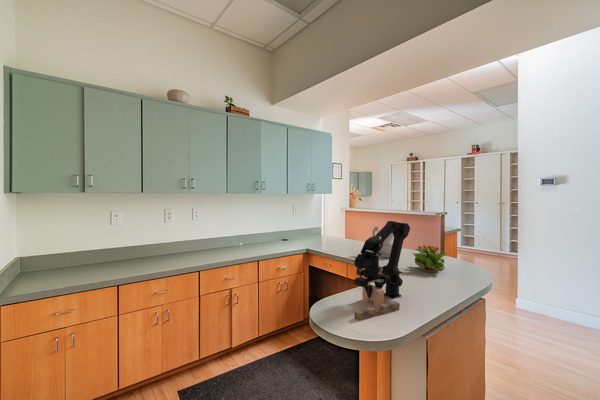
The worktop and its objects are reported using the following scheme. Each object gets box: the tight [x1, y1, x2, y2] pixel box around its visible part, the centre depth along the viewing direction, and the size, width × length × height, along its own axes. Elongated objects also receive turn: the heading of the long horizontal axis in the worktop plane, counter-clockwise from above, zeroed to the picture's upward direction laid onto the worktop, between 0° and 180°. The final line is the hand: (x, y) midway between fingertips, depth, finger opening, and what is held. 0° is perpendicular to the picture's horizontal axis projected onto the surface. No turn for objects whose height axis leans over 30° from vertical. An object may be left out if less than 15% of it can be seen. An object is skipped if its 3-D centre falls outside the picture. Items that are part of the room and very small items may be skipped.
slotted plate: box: [361, 283, 385, 309], centre depth 134 cm, size 3×12×8 cm, turn 27°
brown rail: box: [353, 300, 400, 321], centre depth 122 cm, size 24×2×3 cm, turn 117°
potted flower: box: [412, 244, 449, 273], centre depth 189 cm, size 25×24×18 cm
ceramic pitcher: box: [371, 226, 394, 258], centre depth 234 cm, size 22×20×25 cm
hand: (372, 297), depth 134 cm, fingers open, 4 cm apart
